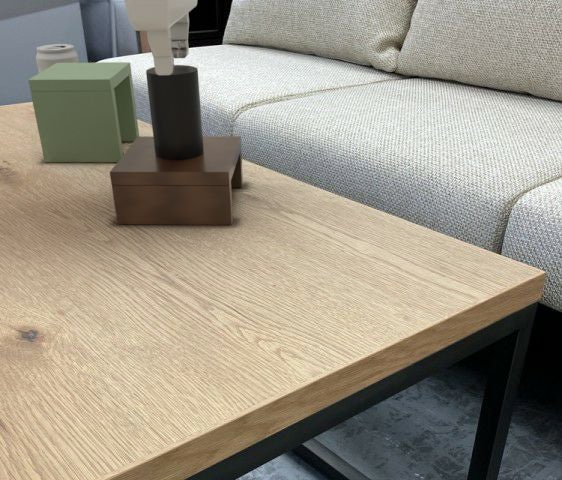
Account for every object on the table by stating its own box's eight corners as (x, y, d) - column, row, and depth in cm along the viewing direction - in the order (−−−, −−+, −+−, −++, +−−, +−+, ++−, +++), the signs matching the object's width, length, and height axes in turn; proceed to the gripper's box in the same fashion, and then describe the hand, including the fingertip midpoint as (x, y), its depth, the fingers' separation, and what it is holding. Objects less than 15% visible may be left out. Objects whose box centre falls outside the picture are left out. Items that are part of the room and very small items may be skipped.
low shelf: (117, 224, 79) (109, 171, 76) (143, 183, 91) (137, 136, 87) (231, 225, 78) (228, 171, 75) (243, 183, 90) (241, 136, 87)
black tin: (150, 160, 79) (141, 75, 74) (160, 146, 84) (151, 64, 79) (200, 160, 79) (193, 74, 74) (206, 146, 83) (201, 64, 78)
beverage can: (96, 122, 117) (84, 44, 110) (72, 132, 112) (57, 50, 105) (66, 119, 119) (52, 41, 112) (40, 128, 114) (24, 48, 108)
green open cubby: (44, 162, 99) (27, 79, 93) (69, 138, 109) (56, 62, 103) (121, 162, 98) (109, 79, 92) (139, 138, 108) (130, 62, 102)
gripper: (147, -88, 77) (162, 49, 85) (99, -86, 60) (123, 85, 68) (204, -89, 77) (214, 48, 84) (171, -88, 60) (187, 84, 68)
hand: (173, 65), depth 76 cm, fingers open, 8 cm apart
